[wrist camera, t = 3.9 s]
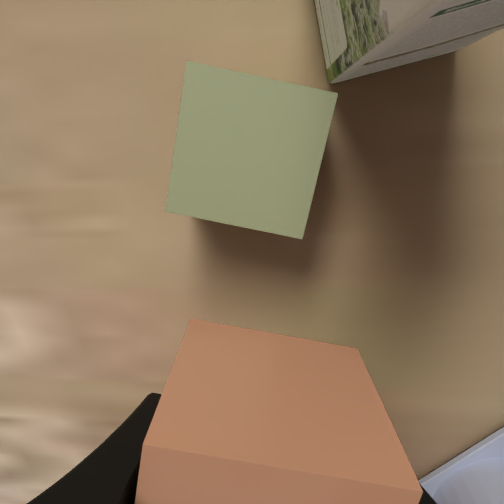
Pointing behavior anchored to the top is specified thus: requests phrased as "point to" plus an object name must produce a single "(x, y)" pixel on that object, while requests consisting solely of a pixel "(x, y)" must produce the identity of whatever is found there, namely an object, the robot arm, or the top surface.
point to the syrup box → (398, 31)
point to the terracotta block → (270, 426)
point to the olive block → (248, 149)
